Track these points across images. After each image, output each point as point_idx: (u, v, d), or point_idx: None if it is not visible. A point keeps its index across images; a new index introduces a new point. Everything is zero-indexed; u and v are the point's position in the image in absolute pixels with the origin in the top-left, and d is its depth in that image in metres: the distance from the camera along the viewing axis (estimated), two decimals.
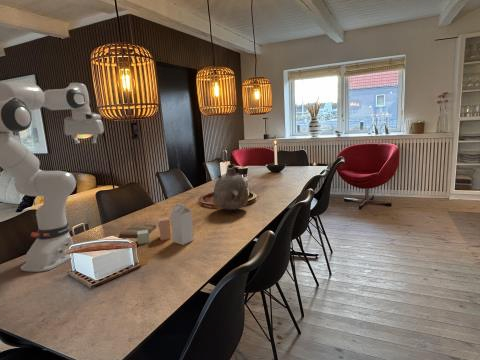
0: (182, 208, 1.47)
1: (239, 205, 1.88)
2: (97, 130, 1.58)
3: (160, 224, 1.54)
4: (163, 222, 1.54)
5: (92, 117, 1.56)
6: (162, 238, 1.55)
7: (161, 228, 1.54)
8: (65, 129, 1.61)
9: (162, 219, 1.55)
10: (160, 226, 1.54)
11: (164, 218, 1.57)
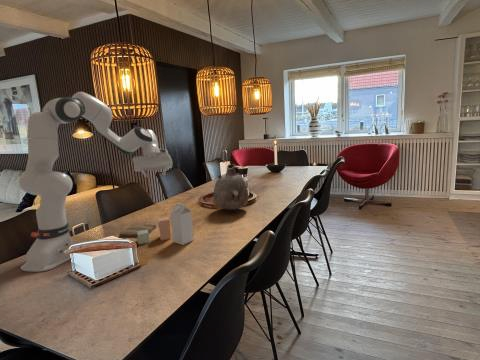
0: (182, 208, 1.47)
1: (239, 205, 1.88)
2: (170, 162, 1.70)
3: (160, 224, 1.54)
4: (163, 222, 1.54)
5: (166, 151, 1.72)
6: (162, 238, 1.55)
7: (161, 228, 1.54)
8: (135, 163, 1.65)
9: (162, 219, 1.55)
10: (160, 226, 1.54)
11: (164, 218, 1.57)
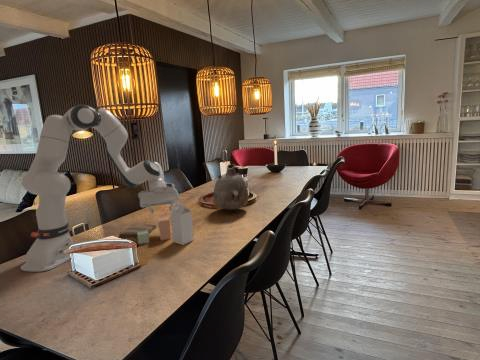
0: (182, 208, 1.47)
1: (239, 205, 1.88)
2: (177, 197, 1.66)
3: (160, 224, 1.54)
4: (163, 222, 1.54)
5: (173, 185, 1.68)
6: (162, 238, 1.55)
7: (161, 228, 1.54)
8: (141, 199, 1.61)
9: (162, 219, 1.55)
10: (160, 226, 1.54)
11: (164, 218, 1.57)
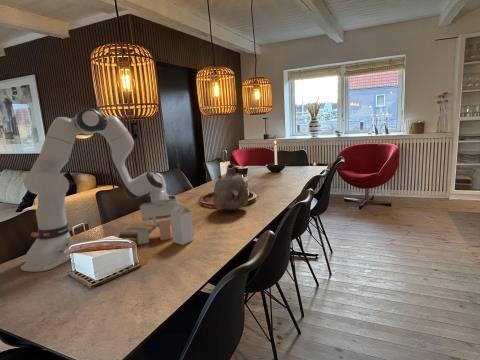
0: (182, 208, 1.47)
1: (239, 205, 1.88)
2: None
3: (160, 224, 1.54)
4: (163, 222, 1.54)
5: (175, 197, 1.63)
6: (162, 238, 1.55)
7: (161, 228, 1.54)
8: (143, 212, 1.56)
9: (162, 219, 1.55)
10: (160, 226, 1.54)
11: (164, 218, 1.57)
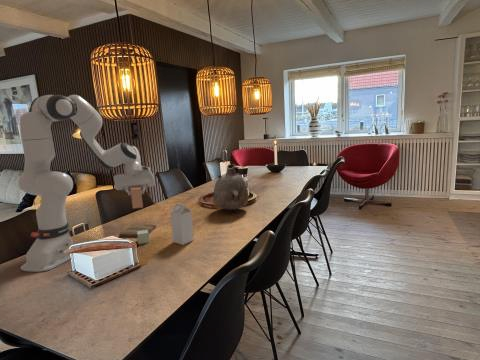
0: (182, 208, 1.47)
1: (239, 205, 1.88)
2: (152, 180, 1.66)
3: (132, 192, 1.59)
4: (135, 191, 1.60)
5: (148, 169, 1.68)
6: (134, 206, 1.61)
7: (133, 196, 1.60)
8: (116, 182, 1.61)
9: (134, 188, 1.61)
10: (132, 195, 1.60)
11: (136, 187, 1.62)
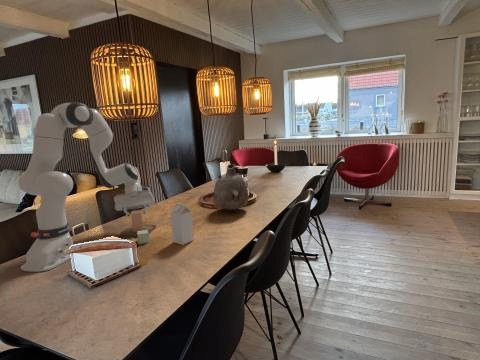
0: (182, 208, 1.47)
1: (239, 205, 1.88)
2: (152, 200, 1.70)
3: (132, 216, 1.63)
4: (135, 214, 1.63)
5: (148, 189, 1.72)
6: (134, 229, 1.64)
7: (133, 220, 1.63)
8: (116, 203, 1.65)
9: (134, 211, 1.65)
10: (132, 218, 1.63)
11: (136, 211, 1.66)
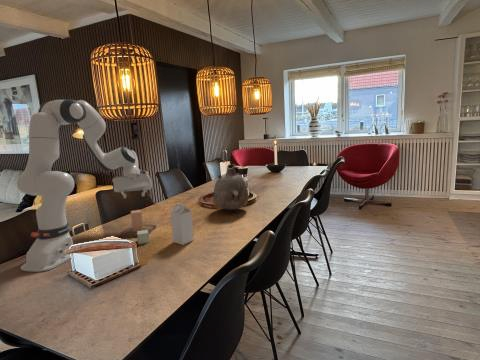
0: (182, 208, 1.47)
1: (239, 205, 1.88)
2: (150, 183, 1.75)
3: (132, 216, 1.63)
4: (135, 214, 1.63)
5: (146, 172, 1.77)
6: (134, 229, 1.64)
7: (133, 220, 1.63)
8: (115, 184, 1.69)
9: (134, 211, 1.65)
10: (132, 218, 1.63)
11: (136, 211, 1.66)
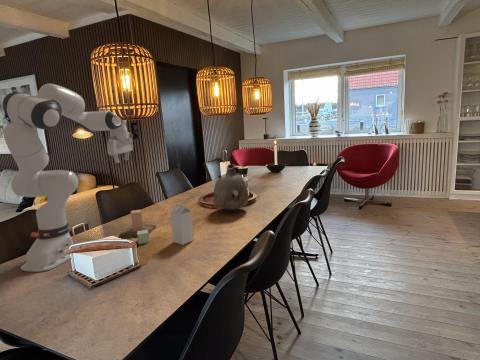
0: (182, 208, 1.47)
1: (239, 205, 1.88)
2: (132, 148, 1.76)
3: (132, 216, 1.63)
4: (135, 214, 1.63)
5: (132, 136, 1.74)
6: (134, 229, 1.64)
7: (133, 220, 1.63)
8: (114, 149, 1.59)
9: (134, 211, 1.65)
10: (132, 218, 1.63)
11: (136, 211, 1.66)
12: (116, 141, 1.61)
